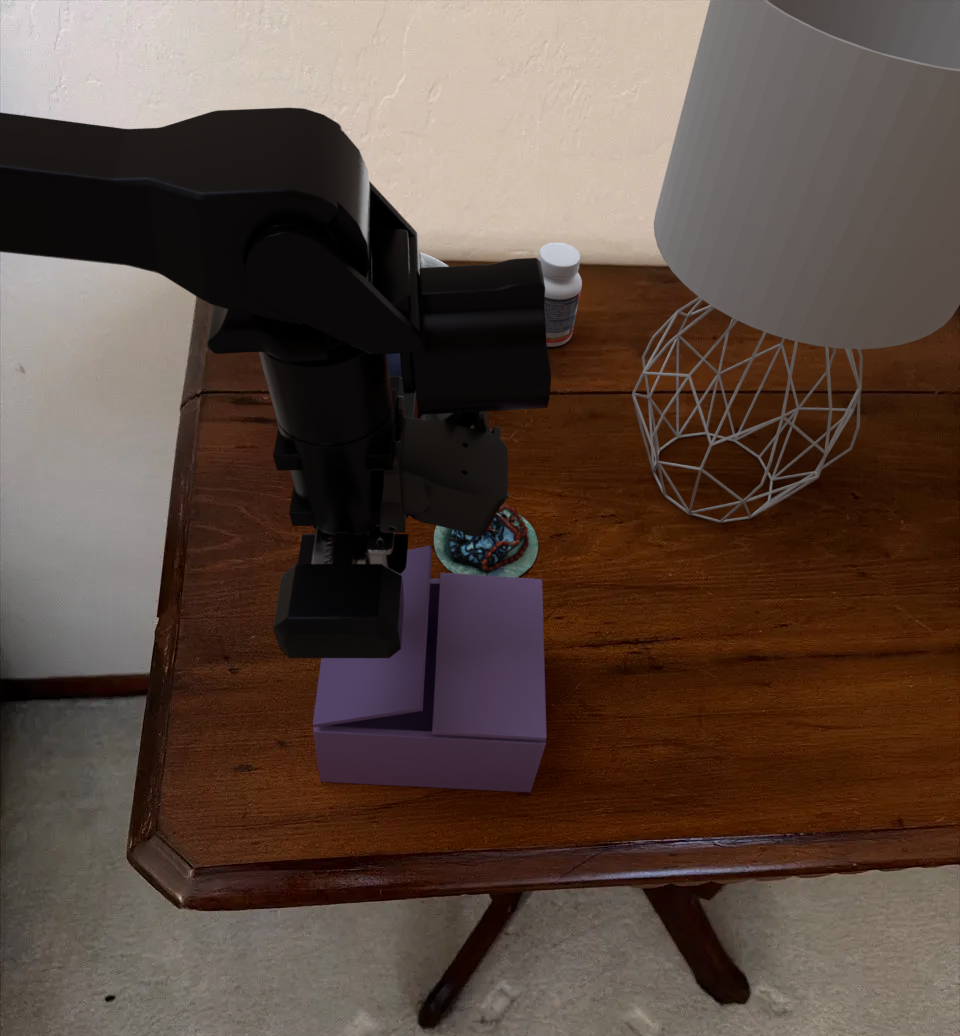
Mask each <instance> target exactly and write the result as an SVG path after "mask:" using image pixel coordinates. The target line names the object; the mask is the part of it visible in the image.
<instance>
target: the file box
mask: <svg viewBox="0 0 960 1036" xmlns="http://www.w3.org/2000/svg"><path fill="white" fill-rule="evenodd" d="M543 599H544V598H543V579H542V578H528V577H527V578H526V577H517V578H515V577H500V576H485V575H470V574H454V573H453V572H440V573H439V578H434V577H433V578H432V577H430V591H429V608H428V625H427V642H426V660H425V677H424V694H423V710H422V711H418V712H412V713H405V714H399V715H392V716H386V717H380V718H373V719H367V720H360V721H354V722H347V723H341V724H335V725H328V726H322V727H314V726H313V730H312V732H313V739H314V747H315V754H316V762H317V768H318V769H317V770H318V777H319V782H320V783H339V784H358V785H375V786H376V785H379V786H395V787H396V786H399V787H413V788H414V787H416V788H417V787H418V788H435V789H436V788H437V789H452V790H453V789H457V790H475V791H494V792H495V791H496V792H513V793H531V792H532V789H533V786H534V784H535V780H536V777H537V774H538V771H539V767H540V765H541V761H542V757H543V755H544V753H545V748H546V745H547V707H546V705H547V704H546V674H545V673H546V671H545V670H546V669H545V635H544V634H545V632H544V600H543Z"/></svg>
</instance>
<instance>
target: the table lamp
mask: <svg viewBox="0 0 960 1036" xmlns="http://www.w3.org/2000/svg"><path fill="white" fill-rule="evenodd" d="M702 27H703V28H702V31H701V34H700V39H699V42H698V45H697V46H698V47H697V50H696V54H695V58H694V62H693V66H692V69H691V74H690V76H689V77H690V78H689V81H688V85H687V89H686V92H685V97H684V100H683V105H682V108H681V111H680V116H679V119H678V124H677V127H676V131H675V136H674V140H673V142H672V147H671V151H670V155H669V158H668V162H667V166H666V170H665V174H664V178H663V182H662V186H661V190H660V194H659V197H658V201H657V205H656V210H655V213H654V219H653V235H654V239H655V242H656V246H657V249H658V250H659V253H660V255H661V257H662V259H663V260H664V262H665V263H666V265H667V266H668V268H669V269H670V270H671V272H672V274H674V275H675V276H676V278H678V280H680V282H681V283H682V284H683V285H684V286H685V287H686V288H687V289H689V290H690V291H691V292H692V293H693V294H695V296H697V297H696V298H695V299H692V300H691V301H690V302H688V303H687V304H685V305H683V306H682V307H680V308H678V309H677V310H676V311H675V312H674V313H673V314H672V315H671V316H670V317H669V318H668V319H667V320H666V321H665V322H664V324H662V326H661V327H660V328H659V329H658V330H657V331H656V332H655V333H654V334H653V335H652V337H651V338H650V339H649V342H648V344H647V346H646V348H645V350H644V352H643V354H642V356H641V362H642V368H643V370H642V372H641V373H640V376H639V378H638V379H637V382H636V384H635V387H634V388H633V390H632V393H631V396H632V401H633V405H634V409H635V413H636V414H635V415H636V418H637V422H638V426H639V430H640V434H641V437H642V441H643V445H644V448H645V451H646V454H647V455H646V456H647V458H648V460H649V466H650V469H651V472H652V475H653V477H654V479H655V481H656V483H657V485H658V487H659V489H660V491H661V493H662V495H663V497H665V498H666V499H667V500H668V501H669V502H671V503H672V504H674V505H675V506H676V507H678V508H679V509H680V510H682V511H683V512H684V513H686V515H688V516H692V517H695V518H696V517H697V518H700V519H704V520H707V521H711V522H716V523H720V524H723V523H729V522H730V523H731V522H737V521H743V520H750V519H753V518H755V517H756V516H758V515H761V513H763V512H765V511H766V510H768V509H770V508H772V507H774V506H775V505H777V504H779V503H781V502H782V501H784V500H785V499H787V498H789V497H791V496H792V495H794V494H795V493H797V492H799V491H801V490H802V489H803V488H806V487H807V486H808V485H810V484H812V483H813V482H815V481H816V480H818V479H819V478H820V475H821V473H822V471H823V470H824V469H825V468H827V467H829V466H830V465H832V464H833V463H835V462H836V461H837V460H838V459H840V458H842V457H843V456H845V455H846V454H848V453H850V452H851V451H852V450H853V448H854V445H855V441H856V439H857V436H858V434H859V430H860V428H861V393H862V390H863V388H862V387H863V354H862V350H873V349H884V348H891V347H898V346H902V345H906V344H909V343H912V342H913V343H914V342H915V341H919V340H921V339H923V338H925V337H928V336H929V335H932V334H933V333H934V332H936V331H937V330H939V329H941V328H942V327H944V326H945V324H947V323H948V322H949V321H950V320H951V319H952V317H953V316H954V315H955V313H956V312H957V310H958V309H959V306H960V0H709V4H708V7H707V12H706V15H705V19H704V23H703V26H702ZM703 301H704V302H705V303H707V304H708V305H707V306H704V307H702V308H699V309H697V308H698V307H699V306H700V305H701V303H702V302H703ZM692 305H694V306H693V307H692V308H691V309H690V311H688V313H685V312H683V311H684V310H686V309H687V308H689V307H690V306H692ZM696 309H697V310H696ZM715 309H716V310H718V311H719V312H721V313H723V314H725V315H726V316H728V317H730V318H731V321H730V323H729V324H728V326H727V329H726V330H725V331H724V332H723V333H722V334H721V336H720V337H719V338H718V339H717V340H716V341H715V343H714V344H713V345H712V346H711V347H710V349H709V350H708V351H706V353H705V355H703V356H702V355H701V354H700V353H699V352H698V351H697V350H696V349H695V348H694V347H693V346H692V345H691V344H690V343H689V342H688V341H687V340H686V339H685V338H684V337H683V336H682V335H683V334H684V333H685V332H687V331H688V330H689V329H690V328H692V327H693V326H694V325H696V324H697V323H698V322H699V321H701V320H702V319H703V318H705V317H706V316H708V314H709V313H711V312H712V311H714V310H715ZM702 312H703V313H702ZM700 313H702V314H700ZM697 314H700V315H699V316H698V317H696V318H695V319H694V320H693V321H691V322H690V323H689V324H688V325H686V323H687V321H688V318H690V317H692V316H694V315H697ZM678 315H681V316H682V317H685V318H684V319H683V322H682V324H681V326H680V328H679V330H678V331H677V333H676V334H675V335H674V336H673V337H671V338H670V339H669V340H668V341H667V343H665V345H664V346H663V347H662V348H661V349H660V347H661V345H662V344H663V343H664V340H665V338H666V336H667V335H668V333H669V332H670V329H671V327H672V326H673V324H674V322H675V320H676V318H677V317H678ZM738 322H740V323H743V324H745V325H746V326H749V327H751V328H753V329H756V330H759V331H762V335H761V337H760V338H759V341H758V342H757V345H756V347H755V349H754V351H753V353H752V354H751V356H750V357H749V358H746V359H745V360H742V361H740V362H738V363H736V364H734V365H732V366H730V367H727V368H726V369H723V370H722V367H723V362H724V357H725V353H726V350H727V345H728V341H729V336H730V331H731V330H732V329H733V327H734V326H735V325H736V324H737V323H738ZM685 325H686V326H685ZM664 329H665V331H664V333H663V334H662V336H661V339H660V340H659V341H658V343H657V345H656V347H655V349H654V351H653V353H652V354H651V356H650V358H649V359H648V360H647V363H646V359H645V358H646V356H647V354H648V352H649V350H650V348H651V347H652V344H653V342H654V340H655V339H656V338H657V337H658V336H659V334H660V333H661V332H663V330H664ZM767 334H770V335H772V336H775V337H778V338H779V337H780V338H782V339H781V342H780V343H778V344H775V345H773V346H771V347H770V348H767V349H765V350H763V351H761V352H758V351H759V349H760V348H761V345H762V343H763V341H764V339H765V337H766V335H767ZM723 339H724V342H723V346H722V350H721V351H722V352H721V355H720V361H719V365H718V370H717V369H716V368H715V367H714V366H713V365H712V364H711V363H710V362H709V361H707V358H708V356H709V355H711V353H712V352H713V351H714V350H715V349H716V347H717V346H718V345H719V344H720V342H722V340H723ZM785 340H789V341H793V342H794V345H793V350H792V354H791V359H790V360H791V361H790V365H789V362H788V358H787V353H786V351H785V347H784V342H785ZM680 341H682V342H683V344H684V345H686V347H688V348H689V349H690V350H691V351H692V352H693V353H694V355H697V357H698V358H699V359H700V360H699V362H698V363H697V364H696V365H695V366H694V367H693V369H691V371H690V372H689V373H680ZM799 343H802V344H805V345H806V344H807V345H811V346H817V347H822V348H823V347H824V351H825V366H826V370H825V371H824V373H823V374H822V376H821V377H820V378H819V379H818V381H817V382H816V383H815V384H814V386H813V387H812V388H811V390H810V391H809V392H808V393H807V395H806V396H805V397H804V399H803V400H802V402H800V404H799V401H798V397H797V393H796V390H795V385H794V381H793V378H792V377H793V371H794V366H795V362H796V356H797V351H798V346H799ZM671 344H672V345H671ZM670 345H671V347H670V349H669V351H668V353H667V354H666V355H667V356H666V358H665V359H664V362H663V364H662V366H661V368H660V371H658V372H657V371H649V369H650V368H651V367H652V366H653V365H654V364H655V363H656V361H657V360H658V359H659V358H660V357H661V356H662V354H663V353H664V352H665V351H666V350H667V349H668V347H669V346H670ZM675 346H676V364H675V365H676V370H675V371H676V372H675V373H674V372H664V370H665V368H666V366H667V364H668V361H669V359H670V357H671V354H672V353H673V350H674V349H675ZM829 348H831V349H832V350H833V351H832V354H831V356H830V349H829ZM659 349H660V351H659ZM775 349H777V350H776V352H775V354H774V356H773V358H772V359H771V361H770V365H769V367H768V369H767V370H766V372H765V374H764V377H763V379H762V381H761V383H760V385H759V387H758V389H757V392H756V393H755V395H754V398H753V400H752V401H751V404H750V405H749V408H748V410H747V412H746V415H745V416H744V419H743V420H742V423H741V425H740V427H739V429H738V431H737V432H736V433H735V428H734V425H733V419H732V417H731V412H730V409H731V407H732V405H733V402H734V400H735V398H736V396H737V394H738V392H739V390H740V388H741V387H742V384H743V382H744V380H745V378H746V376H747V374H748V371H749V370H750V368H751V366H752V364H753V362H754V360H755V359H756V358H758V357H760V356H762V355H765V354H766V353H768V352H771V351H773V350H775ZM837 349H839V350H840V349H841V350H842V349H843V350H845V353H846V356H847V359H848V362H849V365H850V368H851V371H852V374H853V377H854V379H855V383H856V390H855V392H854V395H853V396H852V398H851V400H850V402H849V404H848V405H847V408H843V407H842V408H841V407H840V408H839V407H833V398H832V382H831V367H832V364H833V362H834V358H835V355H836V352H837ZM853 350H856V351H857V353H858V357H859V364H858V365H859V366H858V369H859V370H858V369H857V366H856V363H855V362H856V361H855V358H854V353H853ZM780 351H781V352H782V356H783V360H784V364H785V368H786V373H787V375H788V377H787V382H786V389H785V392H784V393H785V394H784V399H783V403H782V410H781V414H780V416H778V417H775V418H772V419H769V420H767V421H764V422H762V423H759V424H757V425H754V426H751V427H749V428H746V429H743V428H744V426H745V424H746V423H747V420H748V418H749V415H750V414H751V411H752V410H753V407H754V406H755V403H756V401H757V399H758V397H759V395H760V393H761V391H762V389H763V386H764V384H765V382H766V380H767V378H768V376H769V374H770V372H771V370H772V368H773V366H774V364H775V362H776V359H777V357H778V355H779V353H780ZM657 352H658V353H657ZM703 363H704V364H705V365H706V366H707V367H709V368H710V369H711V370H712V371H713V373H715V374H716V375H715V376H714V377H713V379H712V381H711V382H710V384H709V386H708V387H707V389H706V390H705V392H703V393H704V394H703V395H702V396H701V398H700V400H699V398H698V397H699V396H698V395H697V391H696V387H695V385H694V382H693V378H692V375H693V374H694V373H695V372H696V370H698V368H699V367H700V366H701V365H702V364H703ZM746 363H747V365H746V367H745V369H744V371H743V373H742V375H741V377H740V379H739V381H738V382H737V383H738V384H737V385H736V388H735V390H734V392H733V394H732V395H731V398H730V400H729V402H728V401H727V397H726V394H725V388H724V384H723V381H722V377H721V375H723V374H724V373H727V372H729V371H731V370H733V369H736V368H737V367H740V366H742V365H744V364H746ZM858 371H859V372H858ZM649 375H650V376H657V377H656V379H655V381H654V383H653V385H652V388H651V390H650V386H649V385H650V384H649V380H648V376H649ZM663 376H664V377H675V389H676V390H675V391H676V392H675V394H674V395H673V396H672V398H671V400H670V401H669V403H668V404H667V406H666V407H665V409H664V410H663V412H662V411H661V410H660V408H659V407H658V405H657V404H656V403H655V402H654V400H653V399H652V396H653V393H654V392H655V390H656V387H657V386H658V384H659V383H658V382H659V381H660V378H661V377H663ZM680 377H681V378H684V380H683V381H682V383H681V384H680ZM825 377H826V382H827V384H826V385H827V398H828V399H827V401H828V407H803V406H804V405H805V403H806V402H807V401H808V399H809V398H810V397H811V395H812V394H813V393H814V392H815V390H816V389H817V388H818V386H819V385H820V384H821V382H822V381H823V380H824V378H825ZM643 378H644V383H645V388H646V394H641V393H637V391H638V388H639V386H640V384H641V382H642V381H643ZM688 382H689V385H690V388H691V391H692V395H693V398H694V400H695V405H696V406H694V408H693V410H692V411H691V413H690V415H689V417H688V418H687V420H685V422H684V424H683V426H682V427H681V428H680V393H681V392H682V390H683V389H684V387H685V385H686V384H687V383H688ZM713 385H714V386H713ZM718 385H720V390H721V394H722V397H723V401H724V405H725V411H724V413H723V416H722V418H721V420H720V422H719V424H718V426H717V428H716V431H715V432H714V433H711V432H709V426H710V422H711V416H712V412H713V407H714V403H715V398H716V393H717V389H718ZM712 387H713V391H712V396H711V402H710V406H709V411H708V415H707V420H706V419H705V416H704V413H703V410H702V407H701V404H702V402H703V401H704V399H705V398H706V397H707V395H708V393H709V392H710V390H711V389H712ZM790 388H791V391H792V395H793V398H794V402H795V407H796V408H794V409H792V410H790V411H788V412H786V409H787V403H788V398H789V395H790V394H789V393H790ZM637 397H638V398H642V399H646V400H647V402H648V403H647V405H648V406H647V407H648V408H647V409H648V423H649V430H648V427H647V424H646V421H645V418H644V415H643V413H642V410H641V408H640V405H639V404H640V403H639V402H638V399H637ZM675 401H676V402H675ZM674 402H675V403H676V405H675V406H676V408H675V409H676V411H675V413H676V414H675V417H676V418H675V419H676V422H675V423H676V429H675V428H674V427H673V426H672V424H671V423H670V422H669V421H668V419H667V418H666V414H667V412H668V411H669V410H670V408H671V406H672V405H673V404H674ZM653 407H654V409H655V410H656V412H657V413H658V414H659V415H660V418H659V419H658V422H657V424H656V420H655V415H654V409H653ZM697 410H698V413H699V416H700V419H701V422H702V426H703V428H704V432H696V433H695V432H694V433H688V434H683V432H684V430H685V429H686V427H687V426H688V425H689V422H690V421H691V420H692V418H693V417H694V415H695V413H696V412H697ZM855 410H856V428H855V429H854V430H855V431H854V434H853V436H852V439H851V443H850V444H849V447H848V448H847V449H845V450H844V451H843V452H841V453H839V454H838V455H837V456H834V458H832V459H831V460H829V461H828V462H826V459H827V457H828V455H829V454H830V452H831V450H832V448H833V447H834V445H835V444H836V442H837V440H838V439H839V437H840V436H841V433H842V432H843V430H844V428H845V427H846V425H847V424H848V422H849V421H850V419H851V417H852V415H853V413H854V412H855ZM800 411H820V412H823V411H825V412H828V417H827V427H826V431H825V432H824V433H823V434H822V435H821V436H820V437H819V438H817V439H816V440H815V441H814V440H813V439H812V438H811V437H809V435H807V434H806V433H805V432H804V431H802V430H801V429H800V428H799V427H798V426H797V425H796V424H795V423H796V419H797V418H798V415H799V412H800ZM833 412H844V414H843V415H842V417H841V418H840V419H839V420H838V421H836V423H834V424H833V425H832V418H833ZM789 415H790V416H789ZM787 416H789V417H788V418H787ZM727 417H728V420H729V421H728V422H729V425H730V429H731V433H732V434H731V435H728V436H722V435H719V433H720V431H721V428H722V426H723V424H724V422H725V420H726V418H727ZM791 420H792V421H791ZM663 421H664V423H665V424H666V425H667V427H669V429H670V430H671V432H672V434H673V435H674V437H673V438H672V439H670V440H669V441H668V442H666V443H665V444H664V445H663V446H661V447H660V444H659V443H660V442H659V438H658V430H659V428H660V426H661V424H662V422H663ZM778 421H779V423H778V426H777V430H776V434H775V435H774V437H772V439H771V440H770V441H769V443H768V444H767V445H766V446H765V447H764V449H763V450H762V451H761V452H760V453H759V454H757V453H756V452H754V451H753V450H751V449H750V448H748V447H747V446H746V445H744V444H742V443H741V442H740V441H739V440H741V439H744V438H746V437H747V436H749V435H751V434H753V433H756V432H757V431H759V430H761V429H764V428H765V427H767V426H770V425H771V424H773V423H776V422H778ZM784 422H785V423H784ZM783 423H784V424H783ZM788 425H789V429H788V431H787V434H786V437H785V439H784V443H783V445H782V448H781V451H780V454H779V456H778V459H777V462H776V464H775V467H774V470H773V473H772V474H771V473H770V468H771V466H772V463H773V459H774V456H775V452H776V449H777V444H778V440H779V437H780V435H781V433H782V432H783V431H784V429H785V428H786V427H787V426H788ZM836 427H837V428H836ZM835 428H836V429H835ZM793 429H794V430H795V431H796V432H797V433H799V434H800V435H801V436H802V437H803V438H805V439H806V440H807V441H808V442H809V443H811V444H810V445H809V446H808V447H806V449H804V450H803V451H802V452H801V453H800V454H798V455H797V456H796V457H795V458H794V459H793V460H792V461H790V462H789V463H788V464H787V465H785V466H784V467H783V468H782V469H781V470H780V471H778V468H779V466H780V463H781V461H782V459H783V455H784V453H785V450H786V447H787V444H788V441H789V439H790V436H791V433H792V431H793ZM834 429H835V431H834V434H833V436H832V437H831V438H830V435H831V432H832V431H833V430H834ZM645 434H646V435H645ZM698 436H706V439H707V442H708V444H709V445H708V448H707V449H706V450H707V451H706V453H705V454H704V457H703V460H702V461H701V464H700V466H699V467H698V466H691V465H686V464H679V463H674V462H673V463H672V462H667V461H661V460H660V458H659V456H660V452H662V450H665V448H666V447H668V446H670V445H671V444H672V443H674V442H675V441H677V440H678V439H682V438H689V437H698ZM646 437H647V439H646ZM711 437H712V439H711ZM717 438H718V440H716V439H717ZM824 438H825V444H824V448H822V447H821V446H820V445H819V444H818V443H820V441H822V440H823V439H824ZM830 439H831V440H830ZM647 440H648V442H647ZM725 441H729V442H734V443H735V444H736V445H738V446H739V447H741V448H743V450H746V451H747V452H748V453H750V454H751V455H752V456H754V457H755V458H756V459H758V461H759V462H760V464H761V466H762V468H763V470H764V473H763V476H762V478H761V481H760V484H758V485H757V486H756V487H755V488H754V489H753V490H751V492H750V493H749V494H748V495H747V496H745V498H742V497H741V496H739V495H738V494H737V493H735V492H734V491H733V490H731V489H730V488H729V487H727V485H725V484H723V483H722V482H721V481H720V480H718V479H717V478H715V477H714V476H713V475H712V474H711V473H709V472H708V471H707V470H705V469H704V467H705V464H706V462H707V459H708V457H709V455H710V452H711V450H712V447H713V446H716V445H718V444H721V443H724V442H725ZM648 443H649V445H648ZM772 444H773V445H772ZM771 445H772V449H771V452H770V456H769V460H768V463H767V464H765V462H764V461H763V459H762V457H763V456H764V454H765V453H766V452H767V450H768V449H769V448H770V447H771ZM649 446H650V449H649ZM814 447H815V448H817V449H818V450H819V451H820V452H821V453H822V454H823V456H822V458H821V460H820V461H819V463H818V465H817V466H816V468H815V470H814V471H808V472H807V471H806V472H802V473H795V474H790V475H784V476H780V475H781V474H783V473H784V472H785V471H786V470H788V468H790V467H791V466H792V465H794V464H795V463H796V462H797V461H798V460H799V459H801V458H802V457H803V456H804V455H805V454H806V453H808V452H809V451H810V450H811V449H812V448H814ZM825 462H826V463H825ZM663 465H664V466H671V467H676V468H683V469H688V470H695V471H698V473H697V476H696V480H695V484H694V488H693V491H692V495H691V500H690V504H689V508H688V505H687V504H686V502H685V501H684V499H683V497H682V496H681V494H680V493H679V491H678V489H677V488H676V486H675V485H674V483H673V481H672V480H671V478H670V476H669V475H668V473H667V472H666V470H665V468H664V466H663ZM766 465H767V466H766ZM657 470H658V471H657ZM656 471H657V472H658V475H659V477H658V475H657V473H656ZM702 474H704V475H705V476H707V477H708V478H709V479H710V480H712V481H713V482H715V483H716V484H717V485H718V486H720V487H721V488H722V489H723V490H725V491H726V492H728V493H729V494H730V495H731V496H732V497H734V498H736V499H737V500H738V501H734V502H729V503H724V504H720V505H715V506H709V507H706V508H699V509H696V510H693V505H694V502H695V498H696V494H697V490H698V486H699V482H700V479H701V475H702ZM663 475H664V477H665V478H666V480H667V482H668V483H669V485H670V487H671V489H672V490H673V492H674V493H675V495H676V496H677V498H678V499H679V501H680V502H681V503H678V502H677V501H676V500H674V499H673V498H672V497H671V496H669V495H668V494H667V492H666V488H665V483H664V482H665V481H664V477H663ZM804 476H805V477H804ZM767 477H768V478H769V480H770V482H769V488H768V491H767V492H764V493H761V494H758V495H755V493H757V492H758V491H759V490H760V489H761V488H762V487H763V486H764V483H765V481H766V478H767ZM799 477H803V478H802V479H800V480H799V481H796V482H793V483H791V484H788V485H784V486H782V487H778V488H776V489H773V485H774V481H781V480H786V479H792V478H799ZM778 492H780V493H778ZM776 493H778V494H776ZM772 494H776V495H775V496H774V497H772ZM753 495H754V496H753ZM766 496H768V497H767V501H766V502H765V503H764V504H762V505H761V506H760V507H758V509H756V510H755V511H754V512H753V513H752V514H751V512H750V509H749V507H748V505H747V503H748V502H751V501H754V500H757V499H760V498H763V497H766ZM742 505H743V508H744V509H745V512H746V514H747V516H741V517H734V518H729V517H730V516H731V515H733V513H734V512H736V511H737V510H738V509H739V508H740V507H741V506H742ZM731 506H732V507H733V506H735V507H734V508H732V509H731V510H730V511H729V512H728V513H727V514H725V516H723V517H722V518H721V519H719V518H718V519H717V518H714V517H710V516H706V515H703V514H699V513H702V512H707V511H711V510H712V511H713V510H717V509H721V508H726V507H727V508H728V507H731Z"/></svg>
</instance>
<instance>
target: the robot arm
mask: <svg viewBox="0 0 960 1036" xmlns="http://www.w3.org/2000/svg"><path fill="white" fill-rule="evenodd" d="M419 245H420V244H419V234H418V231H417V230H416V229H415V228H414V227H413V226H412V225H411V224H410V222H408V221H407V220H406V219H405V218H404V216H403V215H402V214H401V213H400V212H399V211H398V210H397V209H396V208H395V207H394V206H393V205H392V203H390V201H389V200H388V199H387V198H386V197H385V196H384V195H383V194H382V193H381V191H379V189H377V187H376V186H375V185H374V184H373V183H372V182H371V181H370V177H369V170H368V167H367V165H366V162H365V160H364V158H363V155H362V153H361V151H360V149H359V148H358V146H356V144H355V143H354V142H353V141H352V139H351V138H350V137H349V136H348V135H347V133H346V132H344V131H343V128H342V125H340V124H339V123H338V122H337V121H336V120H334V119H332V118H330V117H328V116H327V115H325V114H323V113H320V112H317V111H314V110H310V109H309V108H308V109H307V108H303V107H269V108H268V107H267V108H247V109H245V108H244V109H241V108H240V109H219V110H218V109H217V110H213V111H212V110H211V111H209V112H206V113H203V114H199V115H196V116H193V117H190V118H186V119H184V120H180V121H177V122H174V123H171V124H166V125H164V126H159V127H144V128H142V127H141V128H124V127H123V128H122V127H115V126H107V125H99V124H91V123H85V122H76V121H75V122H74V121H69V120H63V119H61V120H60V119H53V118H46V117H39V116H30V115H24V114H16V113H8V112H0V253H5V254H15V255H23V256H32V257H42V258H44V257H45V258H52V259H62V260H71V261H78V262H79V261H81V262H88V263H89V262H90V263H98V264H99V263H101V264H109V265H119V266H126V267H131V268H135V269H139V270H144V271H147V272H151V273H155V274H158V275H161V276H163V277H164V278H166V279H168V280H169V281H170V282H172V283H174V284H176V285H177V286H179V287H181V288H182V289H184V290H185V291H187V292H189V293H190V294H192V295H193V296H195V297H196V298H198V299H200V300H201V301H203V302H204V303H206V304H208V305H211V306H212V310H211V316H210V322H209V328H208V335H207V341H206V345H207V346H206V347H207V349H208V351H210V352H211V353H213V354H214V355H215V354H216V355H220V354H221V355H222V354H223V355H225V354H240V353H242V354H243V353H258V355H259V358H260V363H261V367H262V370H263V373H264V378H265V381H266V385H267V389H268V393H269V397H270V399H271V403H272V408H273V412H274V415H275V419H276V423H277V427H278V428H277V432H276V437H275V443H274V447H273V448H274V449H273V454H272V457H273V462H274V465H275V468H276V471H289V473H290V476H291V481H292V485H293V488H292V494H291V500H290V505H289V511H288V514H289V519H290V522H291V526H292V527H313V528H314V530H315V533H302V534H301V538H300V546H299V551H298V552H299V553H298V557H297V563H295V564H294V565H293V566H292V567H290V568H289V569H288V570H287V571H285V572H284V573H283V574H281V578H280V582H279V583H280V584H279V589H278V595H277V601H276V606H275V607H276V608H275V613H274V620H273V625H272V631H273V633H274V636H275V639H276V643H277V644H278V647H279V650H280V651H281V652H283V653H284V654H285V656H287V658H289V659H321V658H390V657H392V656H393V655H394V654H395V653H397V652H398V651H399V650H400V649H401V642H402V628H403V614H404V588H403V580H402V575H401V574H402V573H403V572H404V570H405V568H406V564H407V550H409V549H408V548H409V533H406V530H407V519H408V518H409V517H411V518H412V519H413V520H415V521H418V522H421V523H425V524H429V525H433V526H441V527H445V528H449V529H454V530H458V531H461V532H462V533H463V534H464V535H468V536H473V537H478V536H482V535H484V534H485V533H486V532H487V531H488V529H489V527H490V525H491V523H492V521H493V520H494V518H495V516H496V514H497V512H498V510H499V508H500V506H501V505H502V503H503V501H504V499H505V497H506V495H507V493H508V492H509V451H508V450H509V449H508V446H507V444H506V442H505V441H504V440H503V439H502V437H501V436H502V433H501V431H502V428H501V427H500V426H496V425H493V427H492V429H491V428H490V426H489V415H488V412H498V411H499V412H500V411H515V410H516V411H517V410H535V409H547V408H548V406H549V402H550V395H551V386H552V385H551V382H552V370H551V363H550V357H549V350H548V347H547V344H546V324H545V310H544V302H545V284H544V278H543V272H542V266H541V261H540V260H538V258H537V257H526V258H511V259H506V260H502V261H500V262H499V261H498V262H496V263H486V264H472V265H471V264H469V265H467V264H466V265H450V266H449V265H448V266H447V267H427V268H420V263H419V251H420V250H419V249H420V247H419ZM397 353H400V361H401V372H402V378H401V377H400V376H389V370H388V362H387V354H397ZM419 415H421V416H420V417H419ZM418 417H419V418H418ZM508 494H509V493H508Z"/></svg>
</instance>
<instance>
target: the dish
mask: <svg viewBox="0 0 960 1036" xmlns="http://www.w3.org/2000/svg"><path fill="white" fill-rule="evenodd" d="M509 497H510V494H509V493H507V495H506V497H505V499H504V501H503V503H502V505H501V506H500V508H499V510H498V512H497V514H496V516H495V518H494V520H493V521H492V523H491V525H490V527H489V529H488V531H487V532H486V533H485V534H484V535H482V536H478V537H473V536H468V535H464V534H463V533H462V532H461V531H458V530H454V529H449V528H445V527H441V526H437V525H435V529H434V533H433V546H434V550H435V553H436V556H437V558H438V559H439V561H440V562H441V563H442V565H443V566H444V567H445V568H446V569H447V570H448V571H450V573H454V574H470V575H485V576H500V577H515V578H520V576H522V575H523V574H525V573H526V572H527V571H528V570H529V569H530V568H531V567H532V566H534V565H533V564H534V563H535V562H536V558H537V556H538V552H539V541H538V537H537V534H536V531H535V529H534V527H533V526H532V524H531V523H530V522H529V521H528V520H527V519H526V518H525V517H524V516H522V515H521V514H520V513H519V512H517V511H516V508H514V507H513V506H511V507H510V506H509V505H508V504H507V503H506V501H507V499H508V498H509Z"/></svg>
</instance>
